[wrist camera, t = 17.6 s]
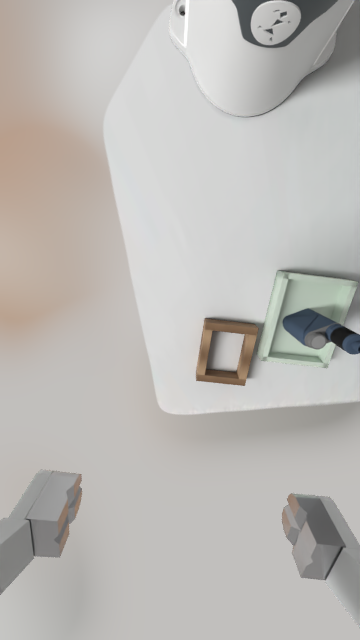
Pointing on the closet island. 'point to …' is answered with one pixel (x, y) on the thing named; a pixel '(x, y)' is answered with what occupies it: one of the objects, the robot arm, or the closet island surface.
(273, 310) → the tray
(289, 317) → the vaping device
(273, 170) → the closet island surface
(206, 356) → the holder
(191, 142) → the closet island surface
